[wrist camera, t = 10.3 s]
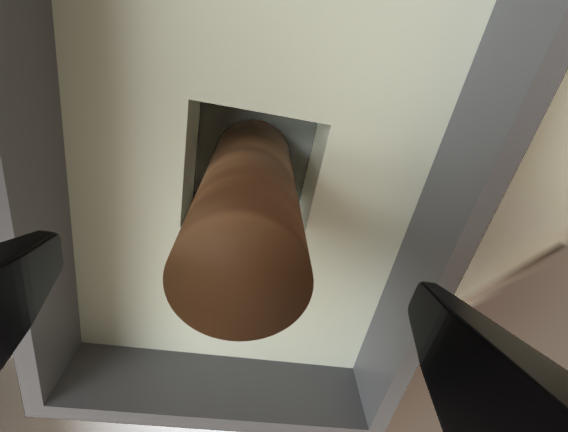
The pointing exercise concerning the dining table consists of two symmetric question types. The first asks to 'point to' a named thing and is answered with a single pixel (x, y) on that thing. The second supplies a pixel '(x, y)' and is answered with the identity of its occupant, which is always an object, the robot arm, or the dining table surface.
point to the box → (313, 203)
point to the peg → (242, 242)
